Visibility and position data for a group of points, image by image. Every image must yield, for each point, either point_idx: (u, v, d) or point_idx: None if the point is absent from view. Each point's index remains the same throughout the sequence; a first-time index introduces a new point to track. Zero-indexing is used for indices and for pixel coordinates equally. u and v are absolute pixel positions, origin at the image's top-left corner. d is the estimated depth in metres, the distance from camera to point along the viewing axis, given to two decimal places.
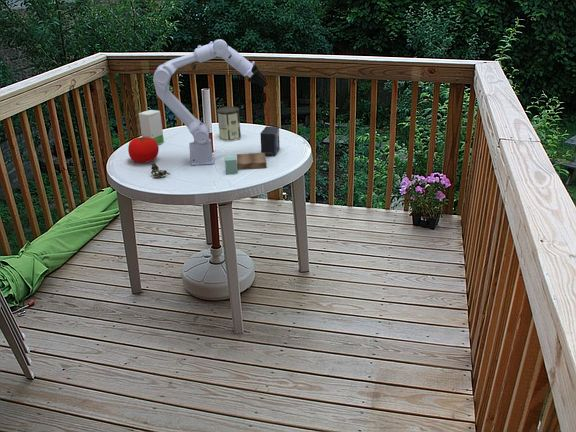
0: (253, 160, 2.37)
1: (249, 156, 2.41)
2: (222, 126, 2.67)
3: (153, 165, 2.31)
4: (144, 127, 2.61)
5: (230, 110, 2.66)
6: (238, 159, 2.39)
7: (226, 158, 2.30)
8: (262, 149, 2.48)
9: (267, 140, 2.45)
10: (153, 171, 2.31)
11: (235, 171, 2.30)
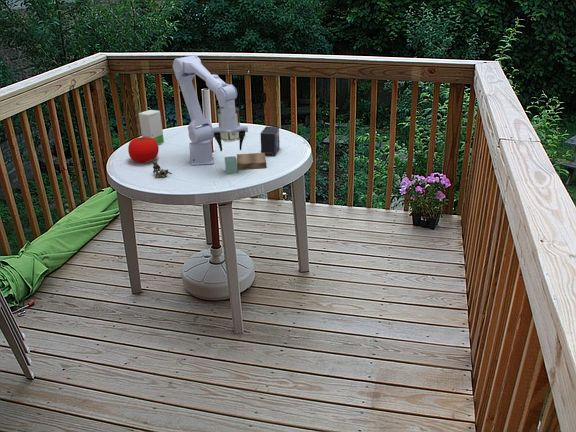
0: (253, 160, 2.37)
1: (249, 156, 2.41)
2: None
3: (155, 165, 2.31)
4: (144, 127, 2.61)
5: None
6: (238, 159, 2.39)
7: (226, 158, 2.30)
8: (262, 149, 2.48)
9: (267, 140, 2.45)
10: (155, 170, 2.31)
11: (235, 171, 2.30)
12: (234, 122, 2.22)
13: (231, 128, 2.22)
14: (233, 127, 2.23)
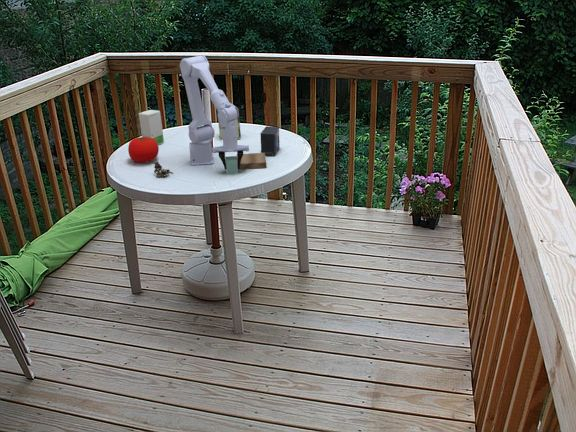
0: (253, 160, 2.37)
1: (249, 156, 2.41)
2: None
3: (156, 164, 2.31)
4: (144, 127, 2.61)
5: None
6: None
7: (227, 158, 2.30)
8: (262, 149, 2.48)
9: (267, 140, 2.45)
10: (156, 170, 2.32)
11: (235, 171, 2.30)
12: (235, 142, 2.26)
13: (232, 148, 2.26)
14: (234, 147, 2.26)
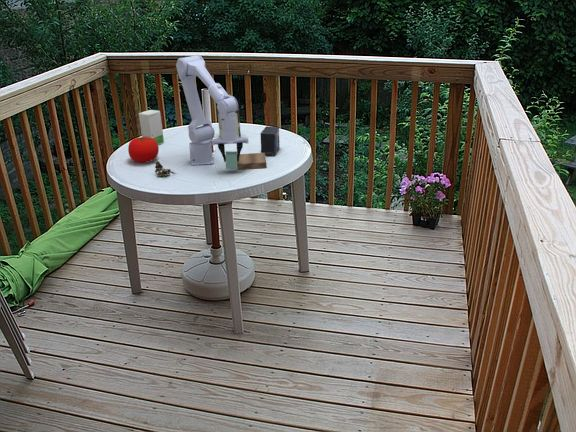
0: (253, 160, 2.37)
1: (249, 156, 2.41)
2: None
3: (157, 164, 2.32)
4: (144, 127, 2.61)
5: None
6: None
7: (227, 152, 2.29)
8: (262, 149, 2.48)
9: (267, 140, 2.45)
10: (157, 170, 2.32)
11: (235, 166, 2.29)
12: (235, 133, 2.24)
13: (232, 139, 2.24)
14: (234, 138, 2.25)
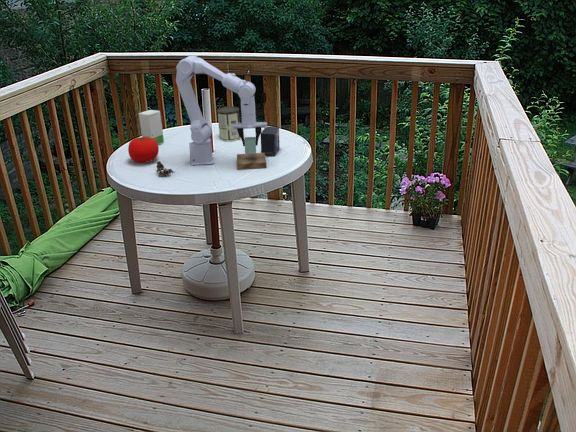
0: (253, 160, 2.37)
1: (249, 156, 2.41)
2: (222, 126, 2.67)
3: (158, 164, 2.32)
4: (144, 127, 2.61)
5: (230, 110, 2.66)
6: (238, 159, 2.39)
7: (246, 138, 2.36)
8: (262, 149, 2.48)
9: (267, 140, 2.45)
10: (158, 170, 2.32)
11: (254, 151, 2.35)
12: (254, 118, 2.31)
13: (251, 124, 2.30)
14: (253, 123, 2.31)
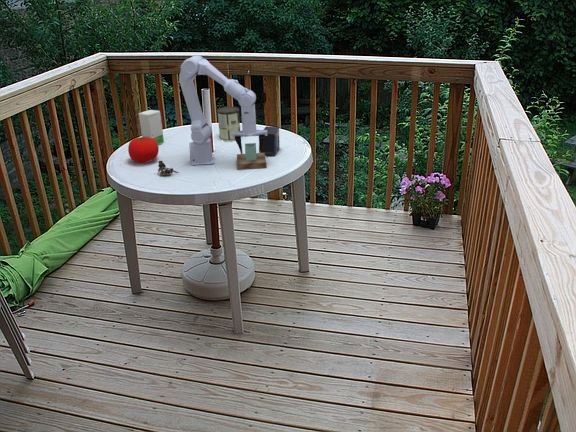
0: (253, 160, 2.37)
1: None
2: (222, 126, 2.67)
3: (160, 163, 2.32)
4: (144, 127, 2.61)
5: (230, 110, 2.66)
6: (238, 159, 2.39)
7: (246, 145, 2.37)
8: (262, 149, 2.48)
9: (267, 140, 2.45)
10: (160, 169, 2.33)
11: (254, 158, 2.37)
12: (254, 126, 2.32)
13: (251, 132, 2.32)
14: (253, 131, 2.32)
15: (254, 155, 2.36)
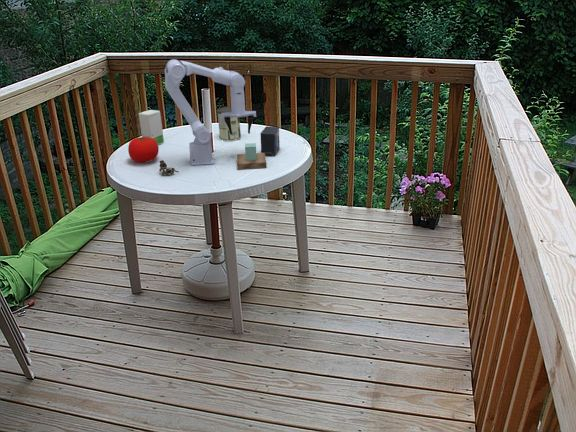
0: (253, 160, 2.37)
1: None
2: (222, 126, 2.67)
3: (161, 163, 2.33)
4: (144, 127, 2.61)
5: (230, 110, 2.66)
6: (238, 159, 2.39)
7: (246, 145, 2.37)
8: (262, 149, 2.48)
9: (267, 140, 2.45)
10: (161, 168, 2.33)
11: (254, 158, 2.37)
12: (243, 107, 2.38)
13: (240, 113, 2.38)
14: (242, 112, 2.39)
15: (254, 155, 2.36)
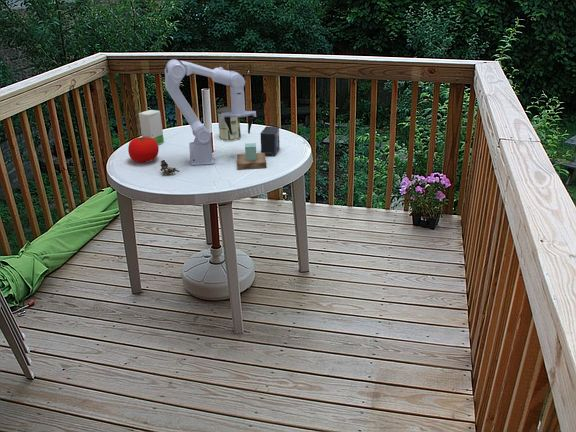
0: (253, 160, 2.37)
1: None
2: (222, 126, 2.67)
3: (163, 162, 2.33)
4: (144, 127, 2.61)
5: (230, 110, 2.66)
6: (238, 159, 2.39)
7: (246, 145, 2.37)
8: (262, 149, 2.48)
9: (267, 140, 2.45)
10: (162, 168, 2.34)
11: (254, 158, 2.37)
12: (243, 107, 2.38)
13: (240, 113, 2.38)
14: (242, 112, 2.39)
15: (254, 155, 2.36)
